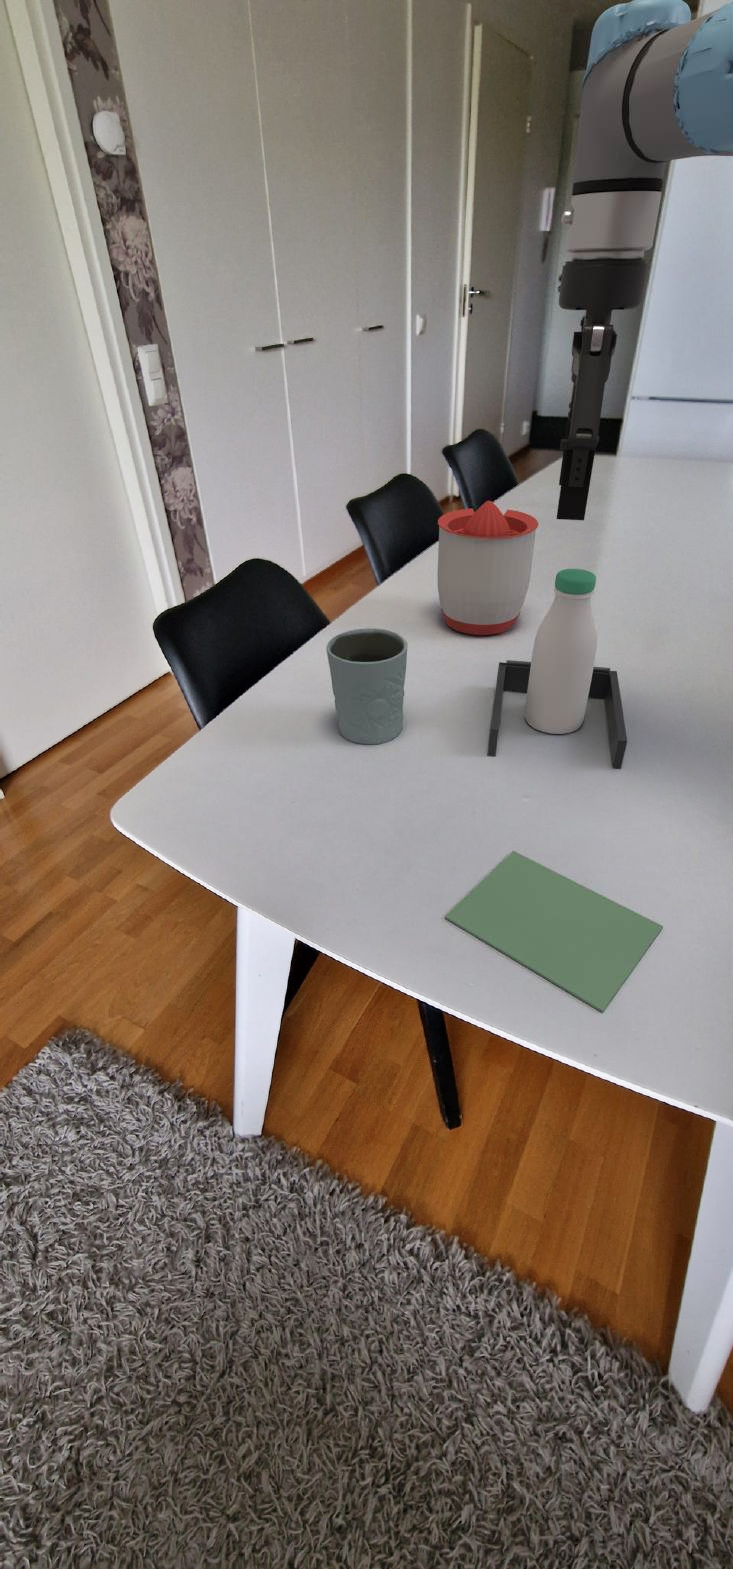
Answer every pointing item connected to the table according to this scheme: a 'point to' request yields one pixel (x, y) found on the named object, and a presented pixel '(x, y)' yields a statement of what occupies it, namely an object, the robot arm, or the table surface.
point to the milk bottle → (563, 656)
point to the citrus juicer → (484, 567)
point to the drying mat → (556, 928)
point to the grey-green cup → (368, 683)
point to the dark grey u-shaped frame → (601, 687)
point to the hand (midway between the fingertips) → (570, 501)
